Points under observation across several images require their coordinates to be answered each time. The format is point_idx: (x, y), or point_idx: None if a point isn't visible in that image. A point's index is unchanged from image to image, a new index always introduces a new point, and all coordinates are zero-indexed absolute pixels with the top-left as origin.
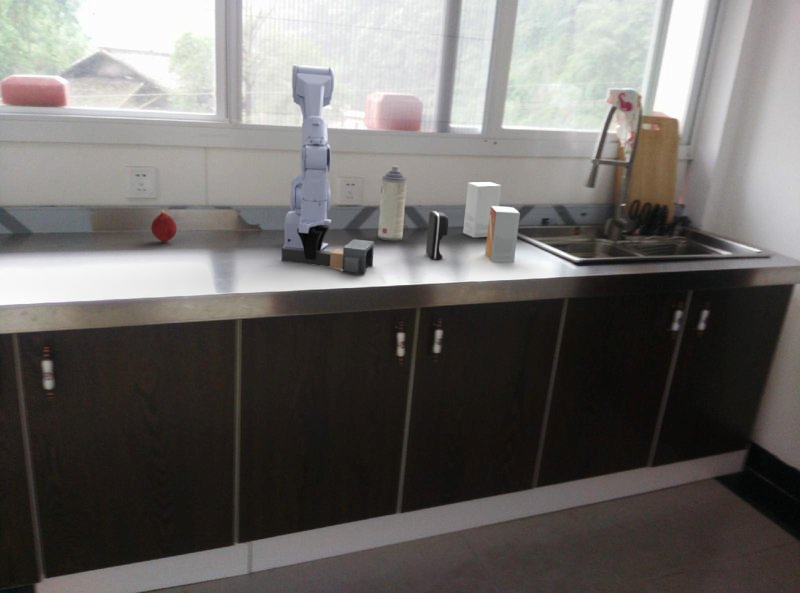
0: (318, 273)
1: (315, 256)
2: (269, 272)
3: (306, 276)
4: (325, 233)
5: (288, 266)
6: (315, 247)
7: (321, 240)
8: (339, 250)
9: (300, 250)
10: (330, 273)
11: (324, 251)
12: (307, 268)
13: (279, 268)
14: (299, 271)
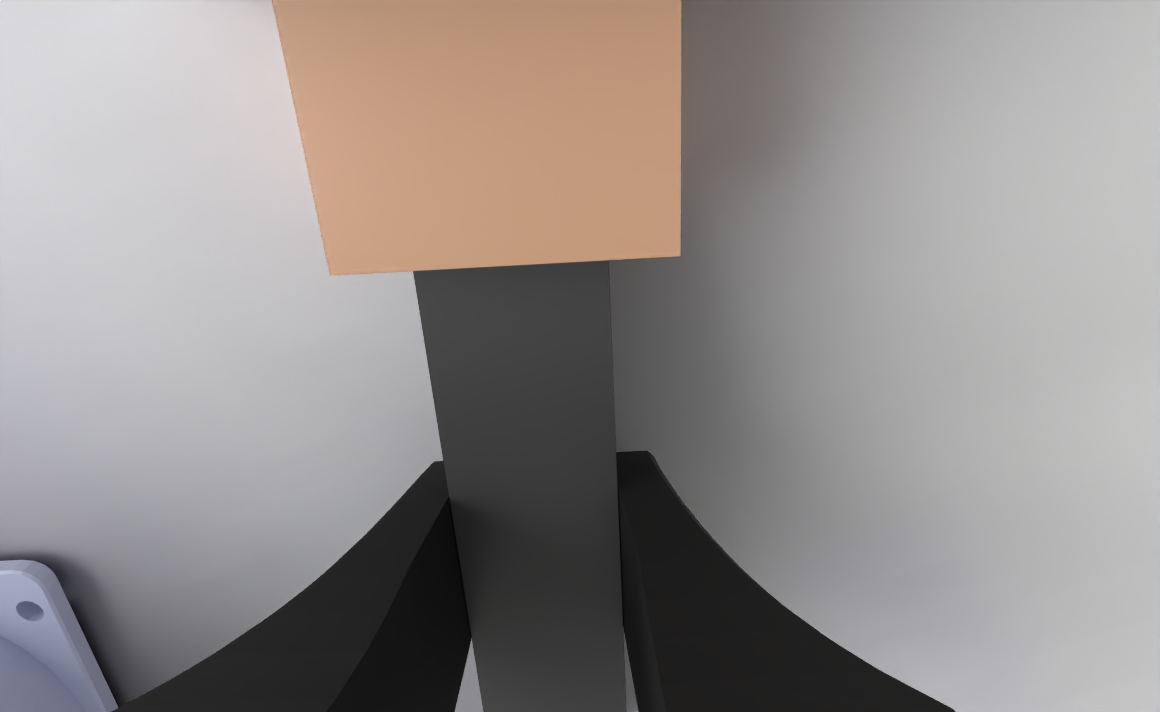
0: (968, 236)
1: (627, 464)
2: (1065, 664)
3: (1143, 319)
4: (213, 688)
5: (788, 607)
6: (720, 552)
7: (398, 605)
8: (407, 155)
9: (619, 688)
10: (920, 84)
11: (477, 415)
12: (787, 428)
13: (895, 645)
14: (946, 457)
